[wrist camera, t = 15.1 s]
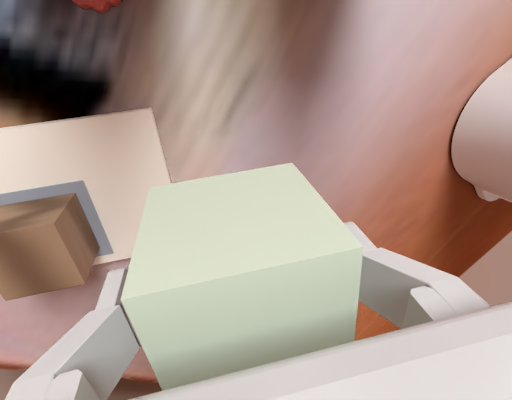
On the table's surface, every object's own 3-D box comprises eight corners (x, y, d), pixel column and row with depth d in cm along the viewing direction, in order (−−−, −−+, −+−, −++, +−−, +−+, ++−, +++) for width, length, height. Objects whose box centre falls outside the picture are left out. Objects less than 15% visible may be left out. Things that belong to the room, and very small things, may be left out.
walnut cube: (75, 192, 26) (53, 223, 21) (99, 247, 29) (85, 283, 24) (-1, 205, 25) (-39, 240, 21) (33, 260, 28) (5, 300, 24)
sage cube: (292, 162, 11) (363, 247, 6) (296, 267, 13) (350, 380, 9) (149, 187, 10) (120, 299, 6) (182, 293, 12) (179, 427, 8)
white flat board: (151, 107, 25) (150, 109, 24) (187, 241, 32) (187, 246, 31) (-95, 141, 22) (-105, 145, 21) (2, 279, 29) (-3, 285, 28)
